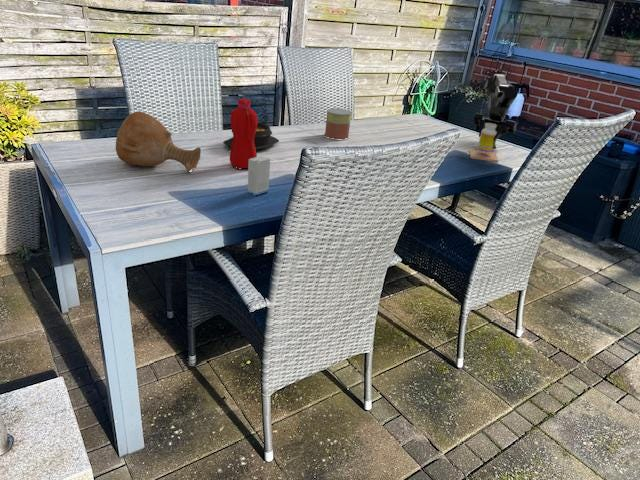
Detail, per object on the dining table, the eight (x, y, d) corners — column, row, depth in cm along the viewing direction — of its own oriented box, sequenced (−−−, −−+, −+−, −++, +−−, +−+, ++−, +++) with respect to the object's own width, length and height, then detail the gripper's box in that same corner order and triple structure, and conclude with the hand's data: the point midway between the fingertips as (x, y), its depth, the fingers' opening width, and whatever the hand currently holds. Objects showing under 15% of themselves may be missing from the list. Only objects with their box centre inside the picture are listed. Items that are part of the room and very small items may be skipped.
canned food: (352, 137, 238) (355, 111, 232) (340, 141, 229) (343, 115, 224) (332, 132, 243) (335, 107, 237) (320, 136, 234) (322, 110, 229)
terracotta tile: (469, 150, 235) (469, 148, 234) (495, 154, 233) (495, 152, 232) (470, 158, 224) (470, 156, 224) (497, 162, 222) (498, 160, 222)
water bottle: (237, 172, 183) (237, 103, 171) (227, 162, 191) (227, 96, 180) (260, 170, 187) (263, 103, 175) (250, 161, 195) (251, 96, 184)
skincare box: (260, 188, 171) (261, 154, 166) (269, 192, 169) (270, 158, 163) (246, 193, 167) (247, 158, 161) (256, 197, 164) (257, 162, 159)
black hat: (241, 156, 199) (241, 136, 195) (214, 144, 210) (214, 124, 206) (288, 147, 215) (289, 128, 211) (260, 136, 226) (261, 117, 222)
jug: (136, 120, 190) (211, 139, 188) (120, 166, 187) (196, 186, 185) (114, 97, 170) (198, 118, 169) (96, 148, 167) (182, 170, 166)
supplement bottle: (492, 155, 224) (499, 127, 218) (477, 153, 225) (484, 124, 219) (490, 150, 230) (498, 123, 224) (476, 148, 231) (483, 121, 225)
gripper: (479, 94, 224) (465, 123, 221) (521, 103, 215) (506, 133, 212) (481, 109, 234) (467, 137, 231) (521, 118, 224) (507, 147, 222)
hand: (486, 138), depth 224 cm, fingers closed on supplement bottle, 6 cm apart
